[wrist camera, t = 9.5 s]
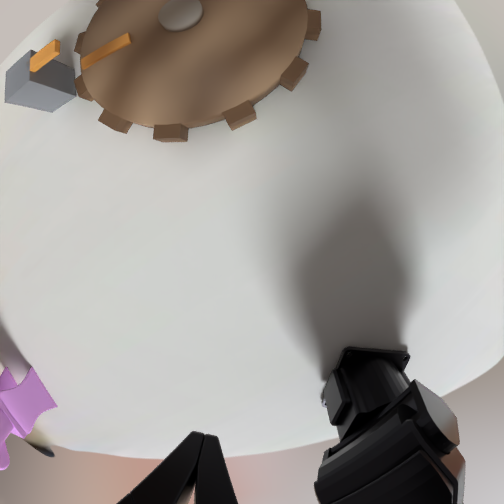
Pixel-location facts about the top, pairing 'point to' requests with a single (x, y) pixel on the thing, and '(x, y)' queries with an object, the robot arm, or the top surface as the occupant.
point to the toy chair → (20, 407)
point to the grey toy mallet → (40, 80)
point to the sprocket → (190, 60)
